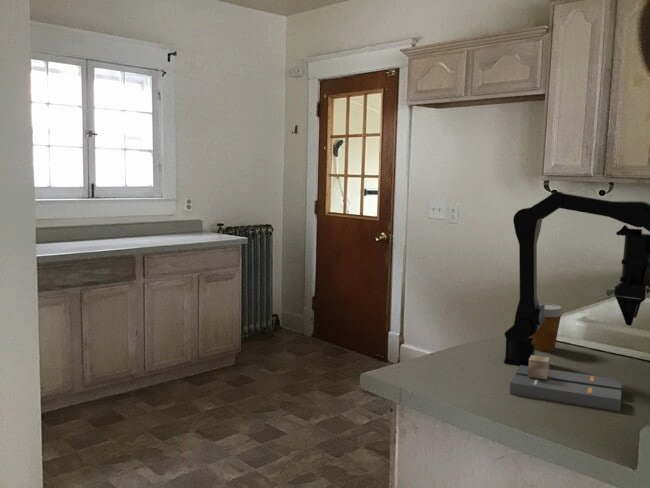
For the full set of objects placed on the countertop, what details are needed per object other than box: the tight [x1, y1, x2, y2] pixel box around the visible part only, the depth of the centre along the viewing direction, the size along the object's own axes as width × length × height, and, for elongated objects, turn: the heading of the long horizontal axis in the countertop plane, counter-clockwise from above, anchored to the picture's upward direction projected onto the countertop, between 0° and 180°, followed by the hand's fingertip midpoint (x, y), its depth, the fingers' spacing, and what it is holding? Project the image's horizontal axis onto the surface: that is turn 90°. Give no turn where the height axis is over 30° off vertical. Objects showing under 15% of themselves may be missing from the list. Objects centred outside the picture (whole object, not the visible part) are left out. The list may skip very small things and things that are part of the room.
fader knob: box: [528, 354, 550, 380], centre depth 139 cm, size 4×4×6 cm
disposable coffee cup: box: [530, 302, 564, 352], centre depth 170 cm, size 10×10×12 cm
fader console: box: [509, 365, 623, 412], centre depth 137 cm, size 22×14×3 cm, turn 64°
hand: (631, 321), depth 144 cm, fingers open, 9 cm apart
